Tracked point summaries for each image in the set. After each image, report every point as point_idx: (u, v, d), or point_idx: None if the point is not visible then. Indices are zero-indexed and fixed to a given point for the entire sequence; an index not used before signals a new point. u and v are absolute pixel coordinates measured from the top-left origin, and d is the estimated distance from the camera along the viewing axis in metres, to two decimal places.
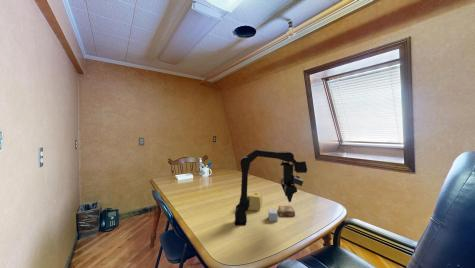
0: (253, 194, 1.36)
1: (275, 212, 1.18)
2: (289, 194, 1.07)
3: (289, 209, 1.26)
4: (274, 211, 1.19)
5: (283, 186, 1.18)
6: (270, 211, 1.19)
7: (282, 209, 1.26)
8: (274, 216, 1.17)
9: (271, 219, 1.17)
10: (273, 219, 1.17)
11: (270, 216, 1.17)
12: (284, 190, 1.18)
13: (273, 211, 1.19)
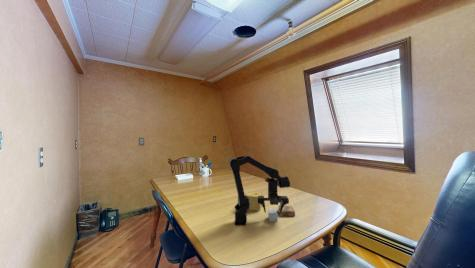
0: (253, 194, 1.36)
1: (275, 212, 1.18)
2: None
3: (289, 209, 1.26)
4: (274, 211, 1.19)
5: (280, 202, 1.20)
6: (270, 211, 1.19)
7: (282, 209, 1.26)
8: (274, 216, 1.17)
9: (271, 219, 1.17)
10: (273, 219, 1.17)
11: (270, 216, 1.17)
12: (280, 206, 1.20)
13: (273, 211, 1.19)
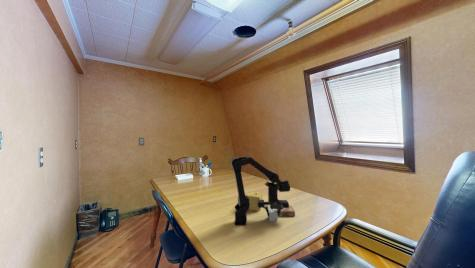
0: (253, 194, 1.36)
1: (275, 212, 1.18)
2: None
3: (289, 209, 1.26)
4: (274, 211, 1.19)
5: None
6: (270, 211, 1.19)
7: (282, 209, 1.26)
8: (274, 216, 1.17)
9: (271, 219, 1.17)
10: (273, 219, 1.17)
11: (270, 216, 1.17)
12: (277, 210, 1.20)
13: (273, 211, 1.19)
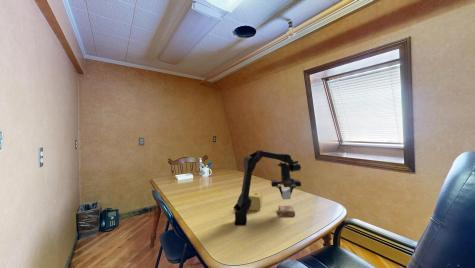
0: (253, 194, 1.36)
1: (288, 191, 1.25)
2: None
3: (289, 209, 1.26)
4: (287, 190, 1.26)
5: None
6: (283, 190, 1.26)
7: (282, 209, 1.26)
8: (287, 194, 1.24)
9: (284, 197, 1.24)
10: (286, 197, 1.24)
11: (283, 194, 1.24)
12: None
13: (286, 190, 1.26)
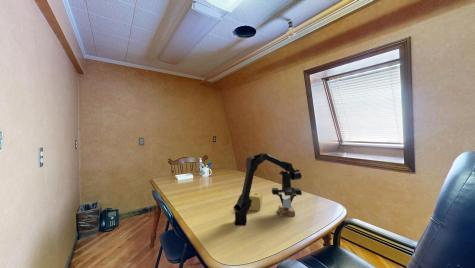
0: (253, 194, 1.36)
1: (288, 199, 1.26)
2: (280, 196, 1.28)
3: (289, 209, 1.26)
4: (287, 198, 1.27)
5: None
6: (283, 198, 1.27)
7: (282, 209, 1.26)
8: (288, 202, 1.25)
9: (285, 205, 1.25)
10: (287, 205, 1.25)
11: (284, 202, 1.25)
12: (290, 198, 1.28)
13: (286, 198, 1.27)
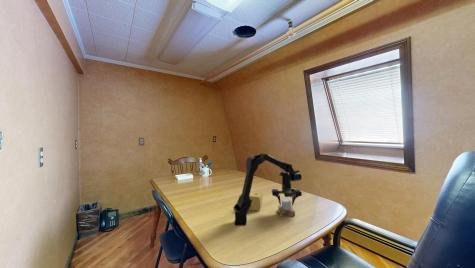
0: (253, 194, 1.36)
1: (288, 201, 1.26)
2: (278, 197, 1.28)
3: None
4: (287, 200, 1.27)
5: (292, 195, 1.29)
6: (283, 200, 1.27)
7: (282, 209, 1.26)
8: (288, 205, 1.25)
9: (285, 208, 1.25)
10: (287, 208, 1.25)
11: (284, 205, 1.25)
12: (292, 199, 1.28)
13: (286, 200, 1.27)
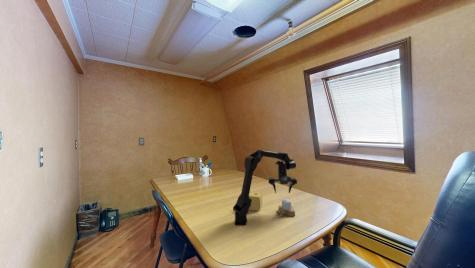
0: (253, 194, 1.36)
1: (288, 201, 1.26)
2: None
3: None
4: (287, 200, 1.27)
5: (289, 183, 1.33)
6: (283, 200, 1.27)
7: (282, 209, 1.26)
8: (288, 205, 1.25)
9: (285, 208, 1.25)
10: (287, 208, 1.25)
11: (284, 205, 1.25)
12: None
13: (286, 200, 1.27)
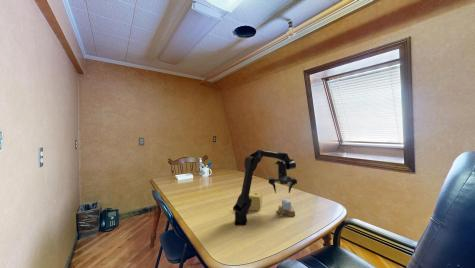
0: (253, 194, 1.36)
1: (288, 201, 1.26)
2: None
3: None
4: (287, 200, 1.27)
5: (289, 183, 1.33)
6: (283, 200, 1.27)
7: (282, 209, 1.26)
8: (288, 205, 1.25)
9: (285, 208, 1.25)
10: (287, 208, 1.25)
11: (284, 205, 1.25)
12: None
13: (286, 200, 1.27)
